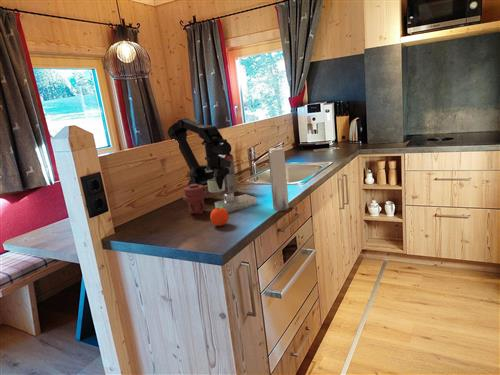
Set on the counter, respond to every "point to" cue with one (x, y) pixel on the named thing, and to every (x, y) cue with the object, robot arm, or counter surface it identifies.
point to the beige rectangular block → (235, 202)
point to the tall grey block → (278, 179)
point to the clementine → (219, 216)
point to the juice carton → (229, 176)
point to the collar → (214, 186)
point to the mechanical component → (195, 198)
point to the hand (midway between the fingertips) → (216, 187)
